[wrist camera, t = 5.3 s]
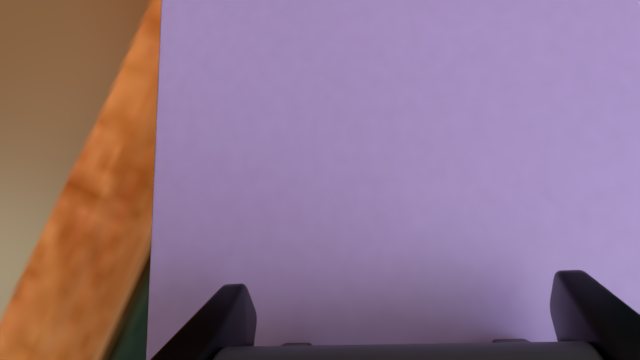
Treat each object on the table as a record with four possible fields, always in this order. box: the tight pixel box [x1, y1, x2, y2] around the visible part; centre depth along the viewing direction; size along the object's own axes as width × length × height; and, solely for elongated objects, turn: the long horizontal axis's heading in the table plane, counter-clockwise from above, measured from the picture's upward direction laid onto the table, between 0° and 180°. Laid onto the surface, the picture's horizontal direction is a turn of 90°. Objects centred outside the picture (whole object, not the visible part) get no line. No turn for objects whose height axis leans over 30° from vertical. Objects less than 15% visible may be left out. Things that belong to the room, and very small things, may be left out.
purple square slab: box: [146, 0, 640, 360], centre depth 9 cm, size 15×12×5 cm
